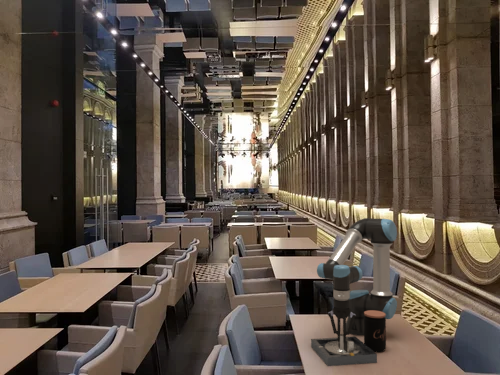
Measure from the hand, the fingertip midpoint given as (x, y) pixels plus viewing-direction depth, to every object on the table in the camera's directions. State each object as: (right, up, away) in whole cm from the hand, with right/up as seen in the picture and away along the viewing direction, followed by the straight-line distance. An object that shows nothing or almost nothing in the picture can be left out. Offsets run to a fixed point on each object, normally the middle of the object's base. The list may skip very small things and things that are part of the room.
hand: (341, 348), depth 192 cm
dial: (+2, -3, +8) cm, 9 cm away
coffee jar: (+20, -6, +15) cm, 26 cm away
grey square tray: (+2, -6, +8) cm, 10 cm away
